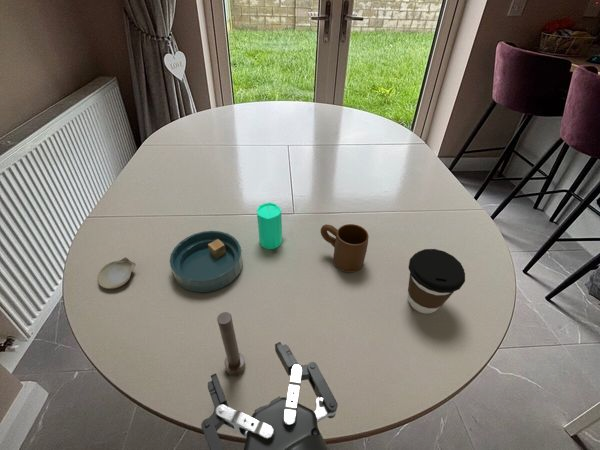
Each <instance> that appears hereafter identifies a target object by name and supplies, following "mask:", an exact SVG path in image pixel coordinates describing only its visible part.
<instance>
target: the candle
mask: <svg viewBox="0 0 600 450" xmlns="http://www.w3.org/2000/svg"><path fill="white" fill-rule="evenodd" d="M256 217H257V218H256V219H257V228H258V238H259V245H260V246H261V247H262V248H263V249H268V250H273V249H277V248H278V247H280V246H281V245H282V243H283V225H282V224H283V223H282V209H281V207H280V206H279V205H278V204H276V203H274V202H271V201H270V202H265V203H262V204H260V205H258V206H257V209H256Z"/></svg>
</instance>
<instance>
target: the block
mask: <svg viewBox="0 0 600 450" xmlns="http://www.w3.org/2000/svg"><path fill="white" fill-rule="evenodd" d="M208 247H209V251H210V253H211V254H212V255H213V256H214V257H215V258H216V259H217V258H219V257H221V256H222V255H224V254H226V249H225V245H224V244H223V243H222V242H221V241H220V240H219V239H217V240H215V241H213V242H211V243H209V244H208Z"/></svg>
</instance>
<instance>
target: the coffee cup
mask: <svg viewBox="0 0 600 450" xmlns="http://www.w3.org/2000/svg"><path fill="white" fill-rule="evenodd" d="M407 269H408V271H409V279H408V287H407V292H408V293H407V300H408V302H409V305H410V306H411V307H412V309H414V310H415V311H416V312H418V313H421V314H425V315H427V314H428V315H429V314H432V313H435V312H437V311H438V309H439V308H440V307H442V306H443V305H444V304H445V303H446V302H447V301H448V300H449V298H450V297H451V296H452V295H453V294H454V292H456V291H459V290H460V289H461V288H462V287H463V285H464V284H465V282H466V272H465V269H464V266H463V265H462V263H461V262H460V261H459V260H458V259H457V257H455V256H454V255H452V254H450V253H448V252H446V251H445V250H441V249H437V248H425V249H421V250H419V251H417V252H415V253H414V254H413V255H412V256H411V257H410V258H409V262H408V268H407Z"/></svg>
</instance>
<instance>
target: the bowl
mask: <svg viewBox="0 0 600 450" xmlns="http://www.w3.org/2000/svg"><path fill="white" fill-rule="evenodd" d="M217 239H219V240H220V241H221V242H222V243H223V244H224V245H225V249H226V254H224V255H222V256H221V257H219V258H217V259H216V258H215V257H214V256H213V255H212V254H211V253H210V251H209V247H208V244H209V243H211V242H213V241H215V240H217ZM243 263H244V261H243V254H242V247H241V244H240V243H239V241H238V240H237V238H235V237H234V236H233V235H231V234H229V233H227V232H224V231H219V230H205V231H200V232H197V233H193V234H191V235H189V236H186V237H185V238H184V239H182V240H181V241H179V242H178V244H176V246H175V247H174V248H173V250H172V252H171V253H170V256H169V266H170V269H171V272H172V275H173V277H174V280H175V281H176V282H177V284H178V285H179V286H181V287H182V288H183V289H185V290H188V291H191V292H194V293H207V292H214V291H218V290H220V289H223V288H224V287H226V286H228V285H229V284H231V283H232V282H233V281H234V280H235V279H236V278H237V277H238V275H239V274H240V273H241V271H242V267H243Z"/></svg>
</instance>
